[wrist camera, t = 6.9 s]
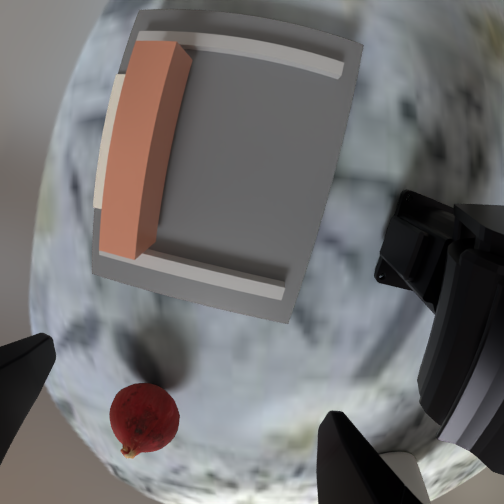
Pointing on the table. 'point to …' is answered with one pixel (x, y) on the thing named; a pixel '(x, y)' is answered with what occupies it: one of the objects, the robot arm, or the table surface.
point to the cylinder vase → (408, 473)
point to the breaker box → (239, 160)
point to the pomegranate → (143, 418)
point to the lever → (142, 146)
